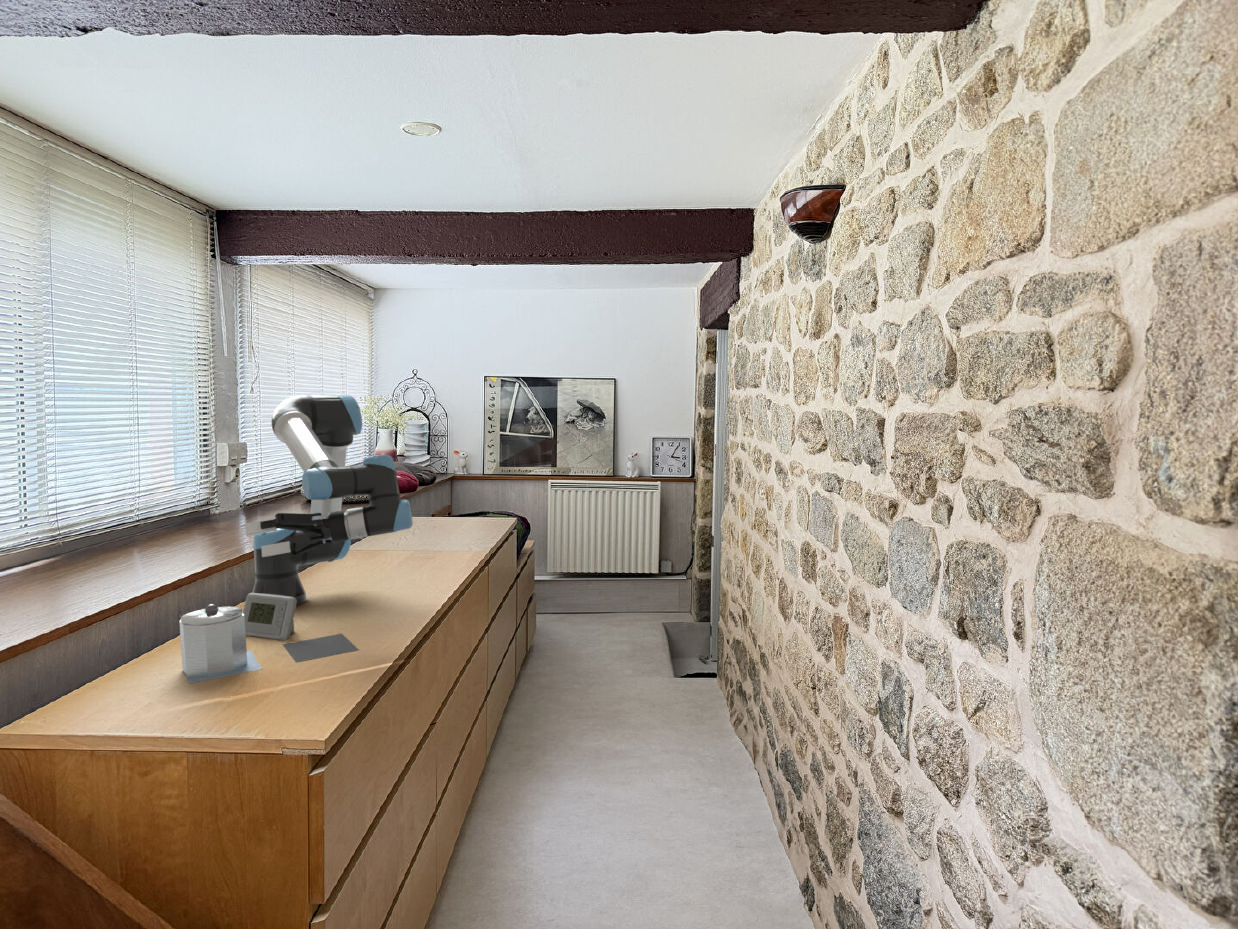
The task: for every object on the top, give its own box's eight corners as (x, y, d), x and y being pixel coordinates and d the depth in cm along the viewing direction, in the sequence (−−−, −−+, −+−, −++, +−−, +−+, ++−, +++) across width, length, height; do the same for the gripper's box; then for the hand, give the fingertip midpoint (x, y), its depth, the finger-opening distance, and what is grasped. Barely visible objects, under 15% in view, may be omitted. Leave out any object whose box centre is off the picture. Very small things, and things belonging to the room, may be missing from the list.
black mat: (282, 646, 182) (282, 644, 182) (341, 635, 190) (341, 633, 190) (296, 665, 169) (295, 662, 169) (359, 652, 177) (359, 650, 177)
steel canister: (180, 666, 168) (175, 603, 167) (238, 654, 176) (234, 594, 174) (189, 681, 159) (185, 615, 158) (251, 667, 166) (247, 604, 165)
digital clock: (235, 636, 192) (233, 595, 191) (268, 627, 199) (266, 588, 199) (272, 646, 183) (269, 604, 182) (305, 636, 191) (303, 595, 190)
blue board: (183, 665, 171) (183, 662, 171) (250, 652, 179) (250, 650, 178) (189, 686, 158) (189, 683, 157) (262, 671, 165) (262, 669, 165)
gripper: (339, 517, 172) (239, 534, 166) (356, 557, 193) (268, 573, 188) (336, 488, 175) (238, 504, 170) (353, 531, 197) (267, 546, 191)
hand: (254, 541), depth 179 cm, fingers open, 13 cm apart
